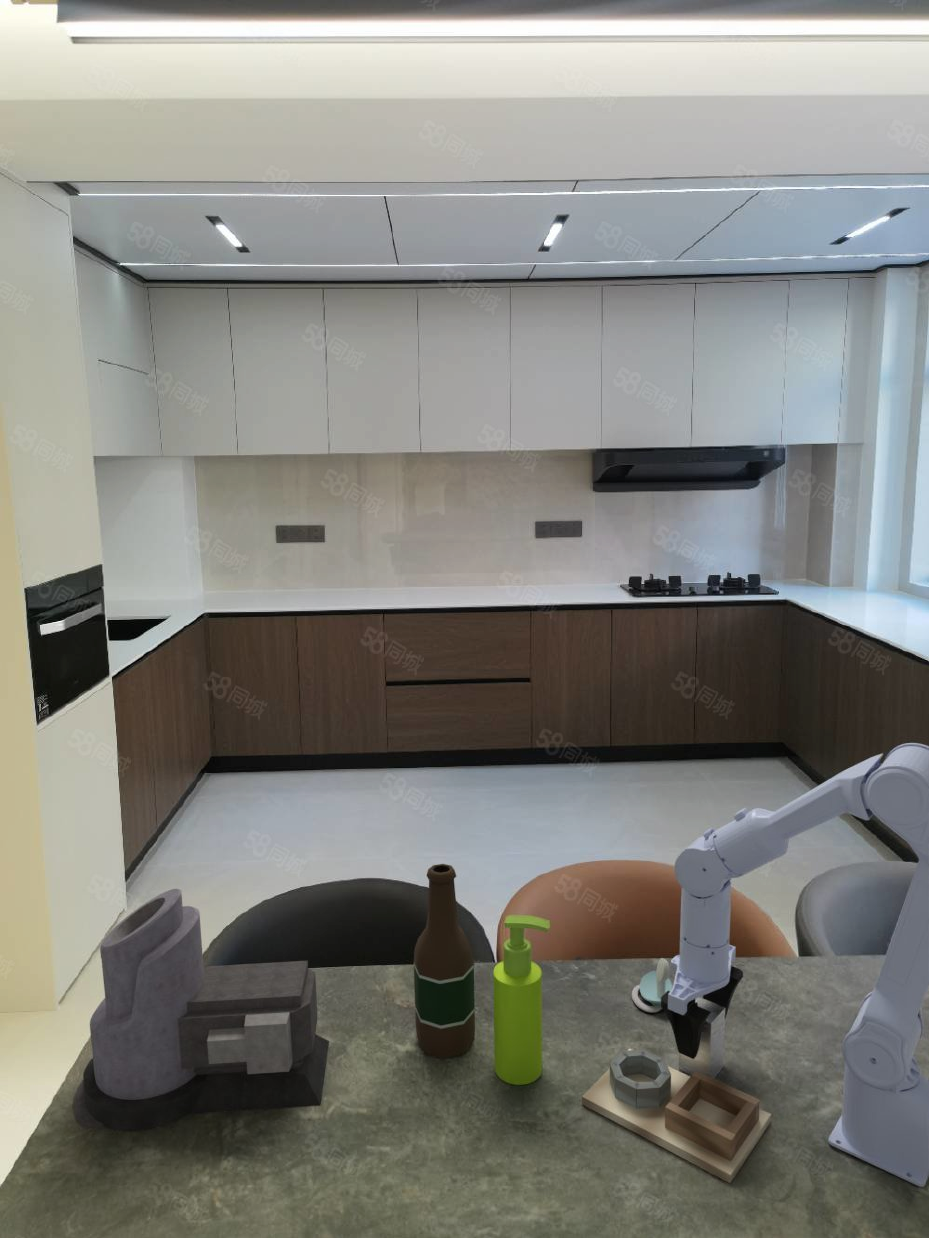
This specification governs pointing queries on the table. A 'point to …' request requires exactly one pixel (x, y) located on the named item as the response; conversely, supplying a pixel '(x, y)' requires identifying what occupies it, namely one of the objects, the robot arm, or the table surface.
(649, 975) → the pacifier
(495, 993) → the soap dispenser
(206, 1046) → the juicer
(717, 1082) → the socket board
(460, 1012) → the beer bottle
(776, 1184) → the table surface
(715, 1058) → the square peg
